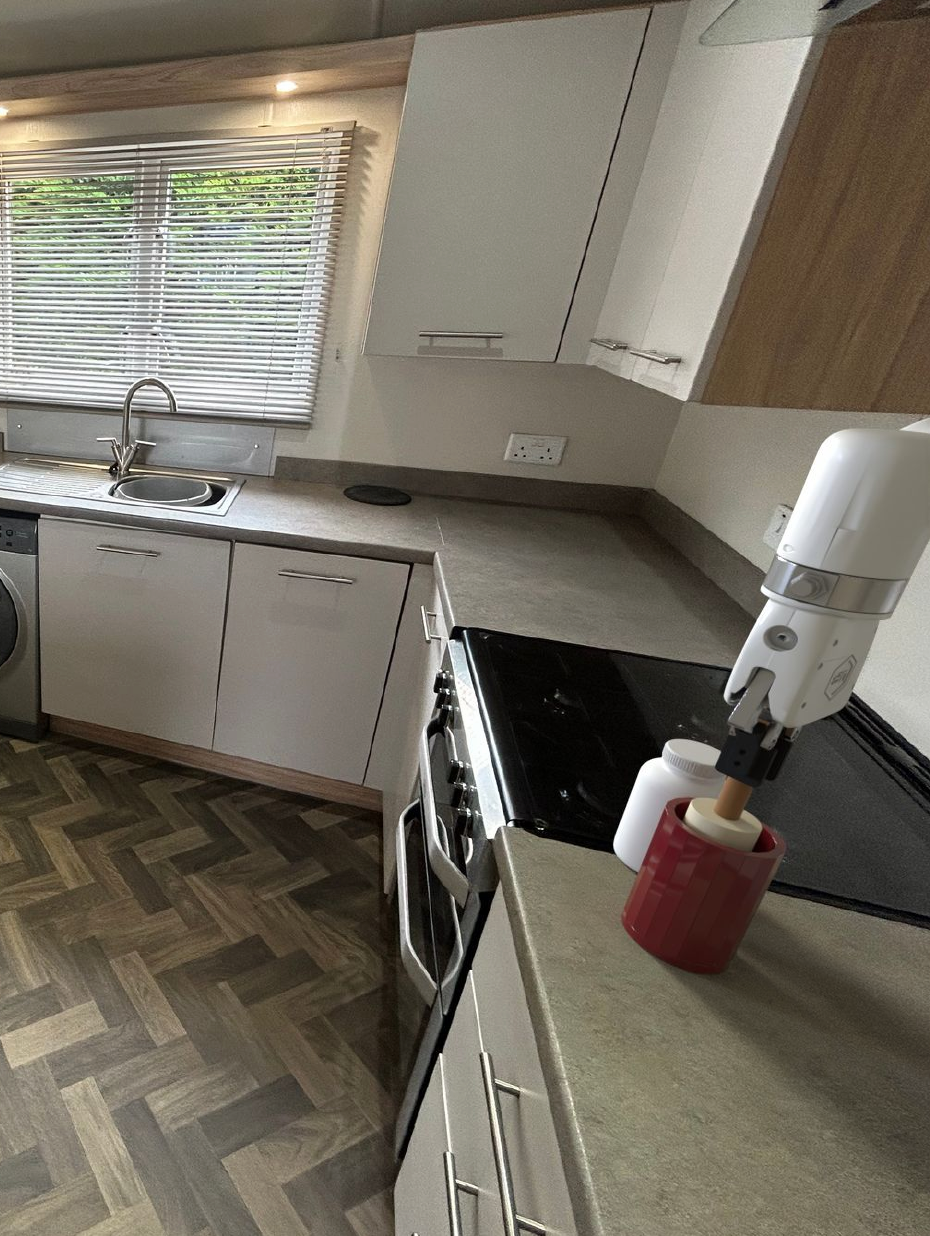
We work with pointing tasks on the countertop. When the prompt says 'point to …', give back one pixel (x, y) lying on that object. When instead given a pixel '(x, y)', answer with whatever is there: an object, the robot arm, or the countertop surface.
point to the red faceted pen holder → (697, 893)
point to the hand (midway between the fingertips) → (744, 773)
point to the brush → (726, 816)
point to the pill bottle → (665, 793)
